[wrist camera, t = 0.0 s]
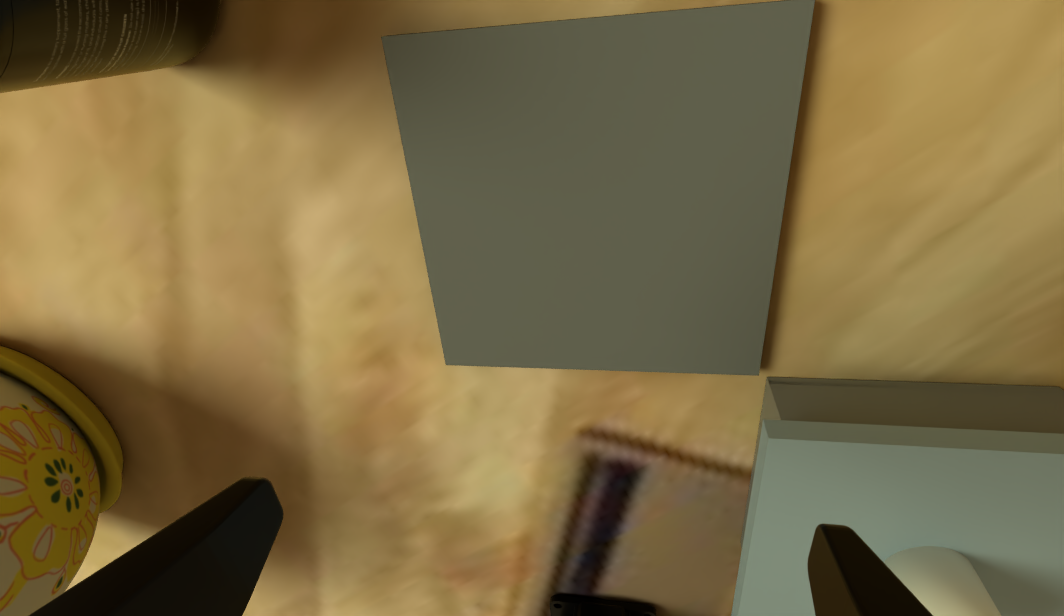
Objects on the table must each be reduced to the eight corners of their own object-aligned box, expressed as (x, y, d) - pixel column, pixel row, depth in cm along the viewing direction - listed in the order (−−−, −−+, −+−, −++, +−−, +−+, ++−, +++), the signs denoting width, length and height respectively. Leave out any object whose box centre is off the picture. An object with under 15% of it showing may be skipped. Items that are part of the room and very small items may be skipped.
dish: (973, 562, 27) (1021, 644, 24) (740, 541, 29) (753, 614, 26) (1059, 386, 22) (1137, 460, 18) (766, 376, 24) (788, 441, 20)
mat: (756, 367, 24) (758, 375, 23) (449, 357, 26) (445, 365, 26) (810, -3, 17) (815, -2, 16) (387, 35, 19) (381, 36, 19)
